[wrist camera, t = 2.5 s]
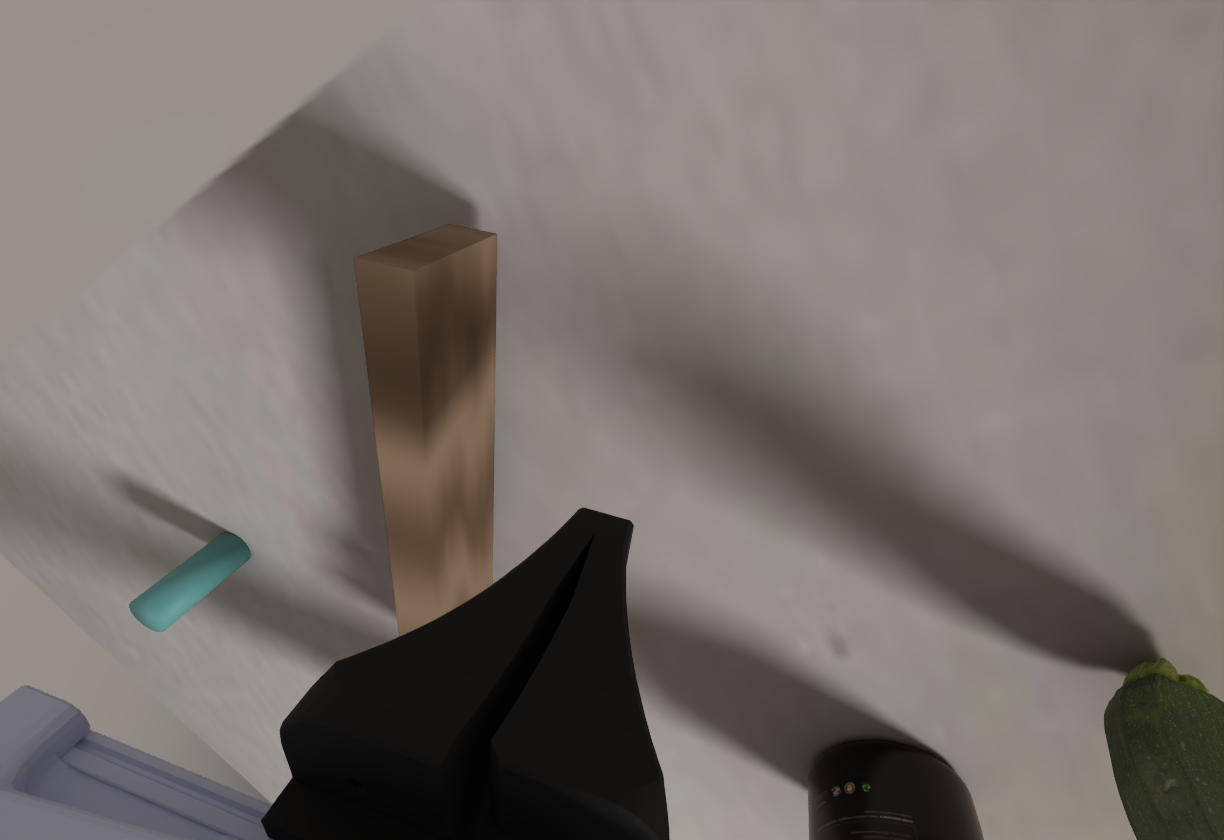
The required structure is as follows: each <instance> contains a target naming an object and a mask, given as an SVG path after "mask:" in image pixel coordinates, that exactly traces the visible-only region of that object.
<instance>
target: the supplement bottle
mask: <svg viewBox="0 0 1224 840" xmlns="http://www.w3.org/2000/svg"><path fill="white" fill-rule="evenodd" d="M808 810H809V840H984V838H983V834H982V830H981V827H980V823H979V820H978V816H977V813H976V809H975V806H974V803H973V799H972V797H971V794H970V792H969V790H968V788H967V786H966V785H965V783H964V782H963V781H962V779H961V778H960V777H959V776H958V775H957V774H956V773H955V772H954V771H953V770H952V769H951V768H950V767H949V766H947V765H946V764H945V763H943V762H942V761H940V760H939V759H937V758H935V757H934V756H932V755H930V754H928V753H926V752H924V751H921V750H919V749H916V748H913V747H911V746H907V745H904V744H899V743H894V742H888V741H878V740H862V741H853V742H848V743H844V744H841V745H838V746H835V747H833V748H831V749H829V750H828V751H826V752H825V753H823V754H822V755H821V756H820V757H819V758H818V759H817V760H816V761H815V763H814V764H813V766H812V768H811V770H810V774H809V779H808Z"/></svg>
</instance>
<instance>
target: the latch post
mask: <svg viewBox="0 0 1224 840" xmlns="http://www.w3.org/2000/svg"><path fill="white" fill-rule="evenodd" d="M250 556H251V554H250V550H249V548H248V547H247V545H246V544H245V543H244V542H243V541H242V540H241V539H240V538H238V537H237V536H235V535H233V534H230V533H222V534H220V535H219V536H218V537H216V538H215V539H214V540H213V541H211V542H210V543H209V544H207V545H206V546H205V547H203V548H202V549H201V550H199V551H198V552H197V553H195V554H194V555H193V556H191V557H190V558H189V559H187V560H186V561H185V562H183V563H182V564H181V565H179V566H178V567H177V568H176V569H174V570H173V571H172V572H170V573H169V574H168V575H166V576H165V577H164V578H162V579H161V580H160V581H158V582H157V583H156V584H154V585H153V586H152V587H150V588H149V589H148V590H146V591H145V592H144V593H143V594H141V595H140V596H139V597H137V598H136V599H135V600H133V601H132V602H131V603H130V604H129V608H130V610H131V612H132V614H133V615H134V616H135V618H136V619H137V620H138V621H139V622H141V623H142V624H143V625H145V626H146V627H148V628H149V629H152V630H154V631H157V632H163V631H165V630H166V629H167V628H168V627H169V626H171V625H172V624H173V623H174V622H175V621H177V620H178V619H179V618H180V617H181V616H182V615H184V614H185V613H186V612H187V611H188V610H190V609H191V608H192V607H193V606H194V605H196V604H197V603H198V602H199V601H200V600H201V599H203V598H204V597H205V596H206V595H207V594H209V593H210V592H211V591H212V590H213V589H214V588H216V587H217V586H218V585H219V584H220V583H222V582H223V581H224V580H225V579H226V578H228V577H229V576H230V575H231V574H232V573H233V572H235V571H236V570H237V569H238V568H239V567H241V566H242V565H243V564H244V563H245V562H247V561H248V560H249V559H250Z"/></svg>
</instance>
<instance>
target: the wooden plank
mask: <svg viewBox="0 0 1224 840" xmlns="http://www.w3.org/2000/svg"><path fill="white" fill-rule="evenodd" d="M354 262H355V271H356V279H357V288H358V296H359V304H360V313H361V321H362V329H363V338H364V346H365V354H366V363H367V371H368V380H369V388H370V396H371V405H372V413H373V421H374V430H375V438H376V447H377V455H378V463H379V472H380V480H381V488H382V497H383V505H384V513H385V522H386V530H387V539H388V547H389V555H390V564H391V572H392V580H393V589H394V597H395V605H396V614H397V622H398V631H399V637H400V636H402V635H404V634H406V633H408V632H410V631H412V630H414V629H417V628H419V627H421V626H423V625H425V624H427V623H429V622H431V621H433V620H435V619H437V618H439V617H440V616H442V615H444V614H446V613H448V612H449V611H451V610H453V609H454V608H456V607H458V606H460V605H461V604H463V603H465V602H466V601H468V600H470V599H471V598H473V597H474V596H476V595H477V594H479V593H481V592H482V591H484V590H485V589H487V588H488V587H490V586H491V585H492V584H493V507H494V430H495V353H496V276H497V234H496V233H491V232H486V231H481V230H476V229H471V228H466V227H461V226H455V225H450V224H449V225H446V226H443V227H440V228H437V229H435V230H432V231H429V232H426V233H423V234H421V235H418V236H415V237H412V238H409V239H406V240H404V241H401V242H398V243H395V244H392V245H390V246H387V247H384V248H381V249H378V250H376V251H373V252H370V253H367V254H364V255H361V256H359V257H356V258H354Z"/></svg>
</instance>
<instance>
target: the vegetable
mask: <svg viewBox="0 0 1224 840" xmlns="http://www.w3.org/2000/svg"><path fill="white" fill-rule="evenodd" d="M1104 728H1105V734H1106V738H1107V743H1108V748H1109V753H1110V757H1111V762H1112V768H1113V773H1114V777H1115V781H1116V784H1117V787H1118V791H1119V794H1120V797H1121V800H1122V803H1123V806H1124V809H1125V811H1126V814H1127V817H1128V820H1129V822H1130V825H1131V827H1132V829H1133V831H1134V834H1135V836H1136V838H1137V840H1224V702H1222V701H1221V700H1219V699H1218V698H1216V697H1215V696H1213V695H1211V693H1210V691H1209V690H1208V689H1207V688H1206V687H1205V686H1204V685H1203V683H1202V682H1201V681H1200V680H1199V679H1197V678H1195V677H1193V676H1191V675H1179V674H1178V673H1177V672H1176V670H1175V667H1174V666H1173V665H1172V664H1171V663H1170V662H1169V661H1167V660H1165V659H1164V658H1161V659H1158V660H1157V661H1156V662H1149V661H1145V662H1143V663H1140V664H1138V665H1137V666H1135V667H1134V668H1133V669H1132V670H1131V671H1130V673H1129V674H1128V675H1127V676H1126V677H1125V679H1124V683H1123V686H1122V687H1121V688H1120V689H1118V690H1117V691H1116V693H1115V695H1114V697H1113V698H1112V699H1111V700H1110V701H1109V703H1108V706H1107V708H1106V710H1105V714H1104Z"/></svg>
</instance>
